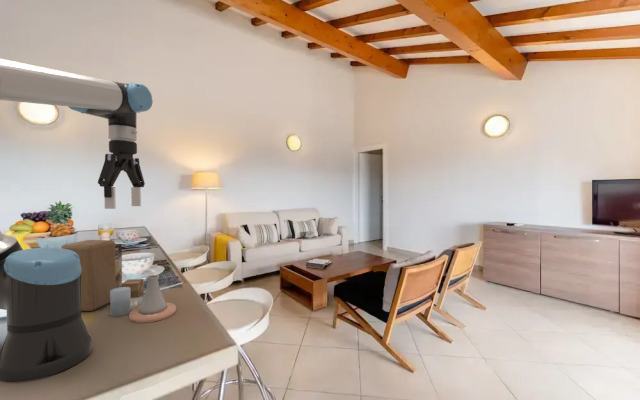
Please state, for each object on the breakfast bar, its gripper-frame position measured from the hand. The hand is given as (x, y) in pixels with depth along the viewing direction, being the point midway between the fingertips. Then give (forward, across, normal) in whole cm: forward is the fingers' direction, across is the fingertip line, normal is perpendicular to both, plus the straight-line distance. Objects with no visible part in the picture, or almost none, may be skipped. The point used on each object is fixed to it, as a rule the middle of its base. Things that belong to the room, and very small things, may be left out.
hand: (124, 207), depth 97 cm
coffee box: (+31, +12, +14) cm, 36 cm away
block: (+31, -3, +9) cm, 32 cm away
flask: (+30, -10, -14) cm, 34 cm away
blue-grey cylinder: (+31, -9, -4) cm, 32 cm away
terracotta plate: (+31, -10, -14) cm, 35 cm away
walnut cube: (+31, +6, +1) cm, 31 cm away
